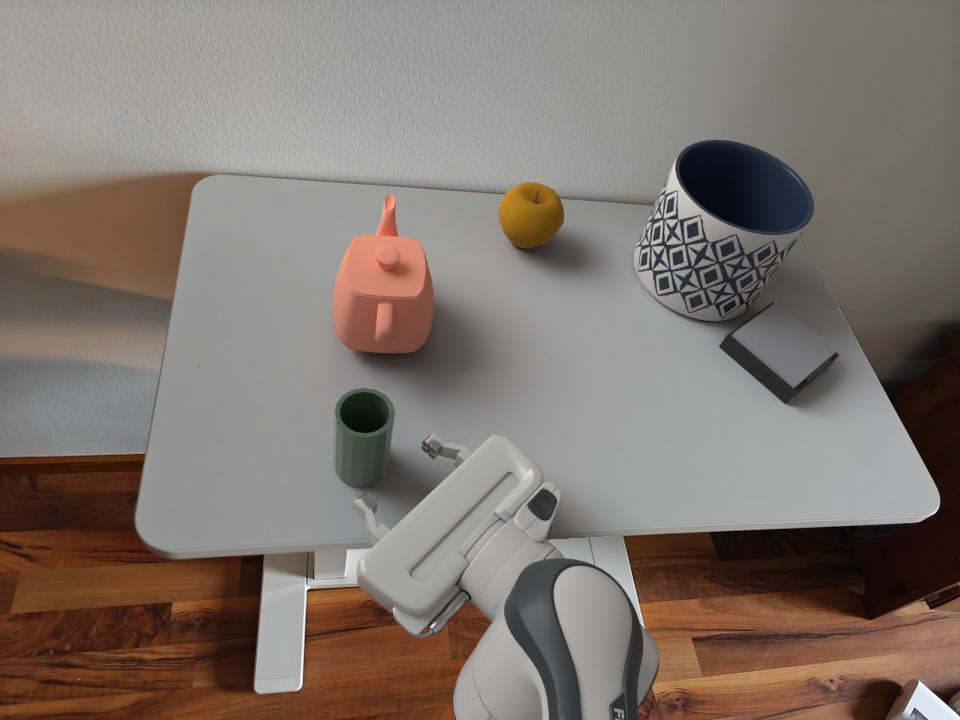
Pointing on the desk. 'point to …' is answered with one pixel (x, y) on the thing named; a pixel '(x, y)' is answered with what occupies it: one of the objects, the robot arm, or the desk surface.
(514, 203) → the apple
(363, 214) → the desk surface
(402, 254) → the teapot
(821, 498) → the desk surface
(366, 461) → the cup
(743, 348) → the scale
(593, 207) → the desk surface
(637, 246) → the planter
